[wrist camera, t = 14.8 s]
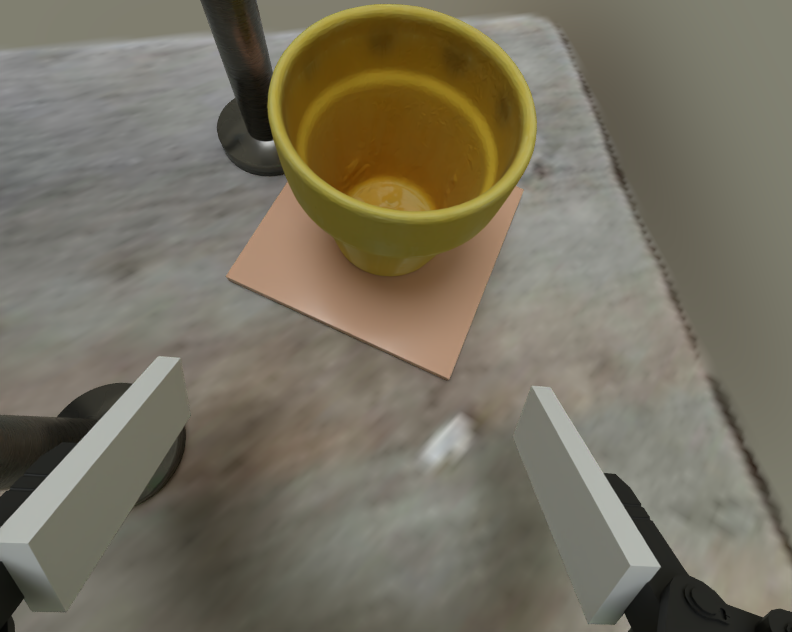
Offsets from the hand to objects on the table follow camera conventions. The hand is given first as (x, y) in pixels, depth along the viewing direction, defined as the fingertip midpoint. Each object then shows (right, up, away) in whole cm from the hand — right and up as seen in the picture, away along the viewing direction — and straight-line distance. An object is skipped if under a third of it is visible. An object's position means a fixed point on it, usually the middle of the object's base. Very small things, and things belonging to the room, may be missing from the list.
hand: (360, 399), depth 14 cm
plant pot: (+1, +9, +9) cm, 13 cm away
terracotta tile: (+1, +8, +10) cm, 13 cm away
